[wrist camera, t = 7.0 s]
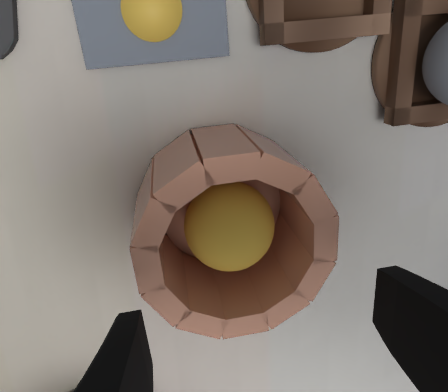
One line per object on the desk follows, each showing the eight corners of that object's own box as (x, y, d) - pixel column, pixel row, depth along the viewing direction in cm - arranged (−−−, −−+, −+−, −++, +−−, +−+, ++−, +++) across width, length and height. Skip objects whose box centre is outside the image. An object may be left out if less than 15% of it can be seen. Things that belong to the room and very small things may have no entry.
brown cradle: (507, -23, 17) (536, -29, 16) (480, 117, 19) (503, 122, 18) (376, -13, 16) (395, -18, 15) (366, 131, 19) (382, 137, 17)
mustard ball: (259, 164, 18) (287, 194, 14) (262, 237, 19) (287, 281, 16) (176, 174, 17) (182, 209, 13) (185, 248, 19) (193, 297, 15)
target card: (220, -52, 15) (222, -56, 14) (228, 55, 16) (230, 55, 16) (63, -43, 14) (60, -46, 13) (87, 69, 15) (85, 69, 15)
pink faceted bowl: (294, 116, 18) (342, 140, 13) (295, 258, 21) (334, 318, 16) (125, 136, 17) (112, 170, 12) (153, 282, 20) (151, 352, 15)
